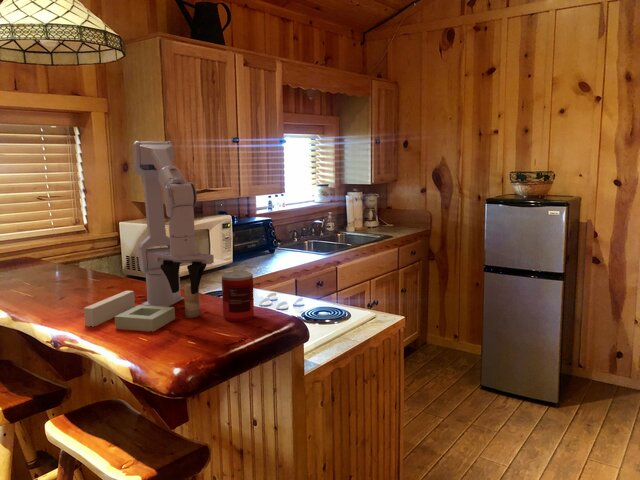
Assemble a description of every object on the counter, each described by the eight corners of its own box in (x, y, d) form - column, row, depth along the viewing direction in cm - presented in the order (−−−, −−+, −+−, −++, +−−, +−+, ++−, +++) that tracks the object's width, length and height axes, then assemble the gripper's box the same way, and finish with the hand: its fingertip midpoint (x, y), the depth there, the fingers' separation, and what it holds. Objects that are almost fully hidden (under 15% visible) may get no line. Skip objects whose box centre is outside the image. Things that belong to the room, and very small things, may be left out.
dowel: (189, 313, 140) (188, 283, 139) (202, 314, 139) (201, 283, 138) (182, 317, 136) (181, 286, 135) (195, 318, 136) (194, 287, 134)
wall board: (127, 306, 147) (126, 290, 146) (135, 307, 146) (133, 291, 145) (85, 326, 130) (83, 308, 130) (93, 326, 130) (92, 308, 129)
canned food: (239, 310, 142) (237, 269, 140) (260, 316, 137) (259, 273, 135) (216, 317, 136) (214, 275, 134) (238, 323, 131) (236, 279, 129)
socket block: (139, 316, 138) (139, 304, 137) (175, 318, 135) (174, 307, 135) (115, 328, 128) (114, 316, 128) (153, 331, 126) (152, 319, 125)
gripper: (144, 237, 123) (148, 295, 126) (202, 239, 120) (205, 298, 122) (161, 232, 130) (164, 287, 132) (216, 234, 126) (219, 291, 129)
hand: (185, 292), depth 128 cm, fingers open, 4 cm apart
